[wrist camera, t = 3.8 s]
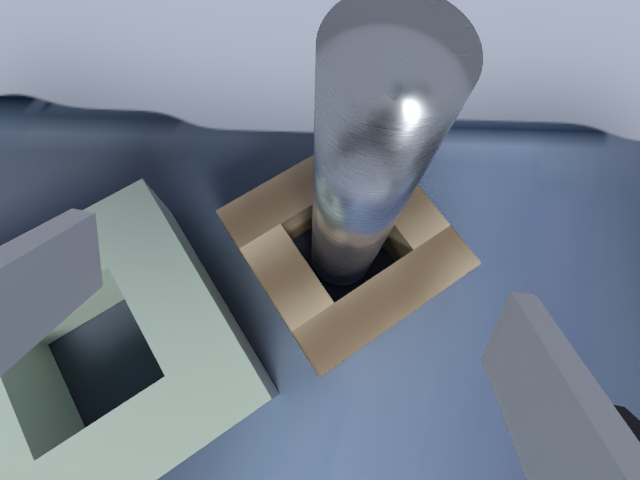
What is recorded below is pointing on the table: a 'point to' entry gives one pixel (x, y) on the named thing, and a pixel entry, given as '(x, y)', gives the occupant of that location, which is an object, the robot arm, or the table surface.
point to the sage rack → (167, 346)
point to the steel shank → (381, 118)
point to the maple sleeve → (305, 288)
